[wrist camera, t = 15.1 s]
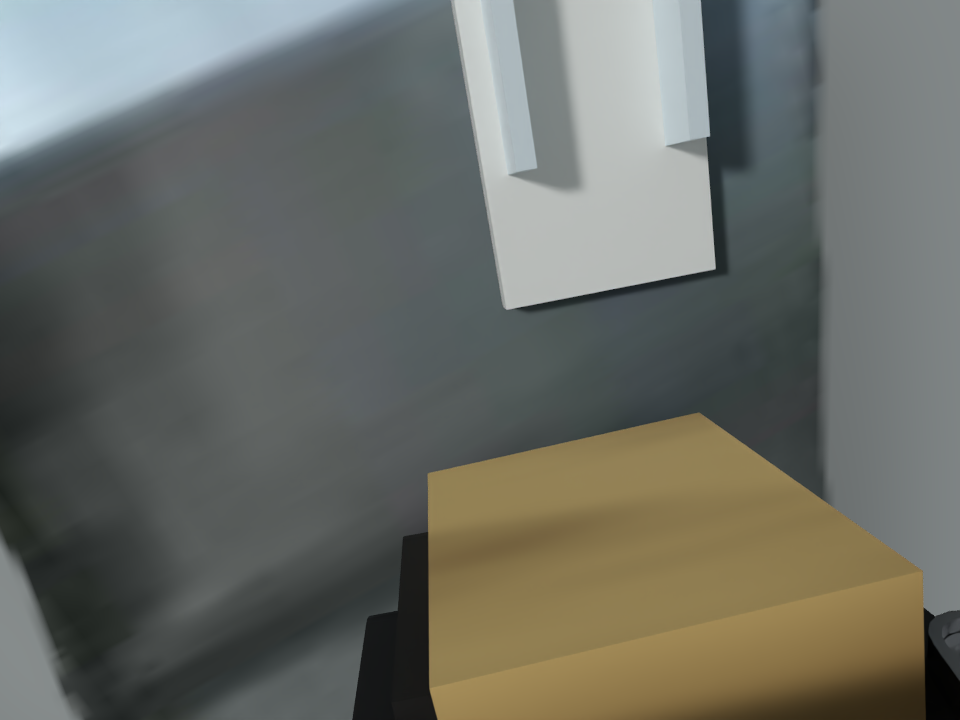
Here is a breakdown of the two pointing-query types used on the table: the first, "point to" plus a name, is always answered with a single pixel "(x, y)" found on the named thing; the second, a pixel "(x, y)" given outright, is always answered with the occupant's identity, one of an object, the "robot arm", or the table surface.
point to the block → (662, 589)
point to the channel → (589, 141)
